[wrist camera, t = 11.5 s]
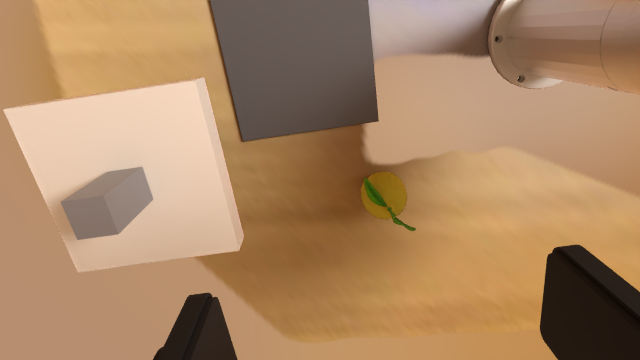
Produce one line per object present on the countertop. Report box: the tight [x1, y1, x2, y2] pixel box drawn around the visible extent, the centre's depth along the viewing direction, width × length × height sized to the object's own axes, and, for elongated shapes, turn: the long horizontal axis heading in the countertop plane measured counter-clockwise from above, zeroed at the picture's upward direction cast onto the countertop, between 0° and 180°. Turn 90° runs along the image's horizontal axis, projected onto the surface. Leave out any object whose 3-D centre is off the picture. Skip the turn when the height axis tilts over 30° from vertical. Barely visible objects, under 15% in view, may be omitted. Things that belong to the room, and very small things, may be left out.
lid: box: [4, 77, 244, 272], centre depth 29 cm, size 15×15×8 cm
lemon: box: [361, 172, 416, 231], centre depth 44 cm, size 7×6×10 cm
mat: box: [210, 0, 378, 141], centre depth 42 cm, size 17×17×1 cm
